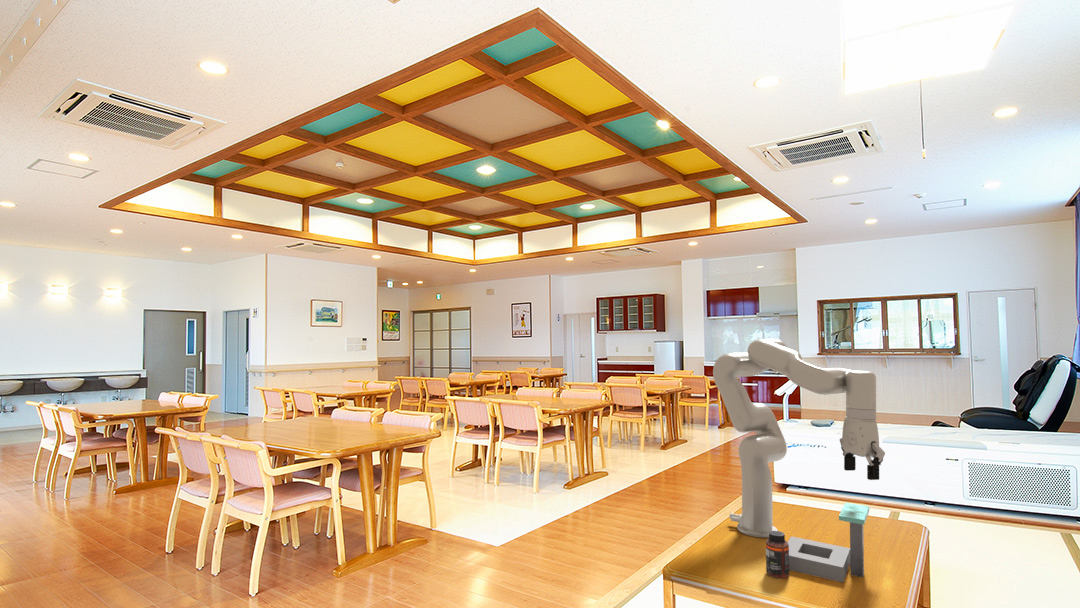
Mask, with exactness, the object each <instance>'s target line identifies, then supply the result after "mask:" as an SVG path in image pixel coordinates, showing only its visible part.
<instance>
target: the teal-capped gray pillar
mask: <svg viewBox="0 0 1080 608" xmlns="http://www.w3.org/2000/svg"><path fill="white" fill-rule="evenodd" d="M869 513H870V506H869V505H863V504H856V503H850V502H845V503H844V505H843V507H842V508H841V511H840V513H839V515H838V521H841V522H845V523H846V522H848V523H849V548H850V565H849V567H850V568H849V569H850V573H849V574H850V576H853V577H857V578H858V577H859V578H864V575H865V559H864V558H865V554H864V553H865V552H864V551H865V549H864V547H865V546H864V541H865V540H864V536H865V535H864V534H865V533H864V525H866V521H867V517H868V516H869Z"/></svg>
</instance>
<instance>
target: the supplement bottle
mask: <svg viewBox="0 0 1080 608" xmlns="http://www.w3.org/2000/svg"><path fill="white" fill-rule="evenodd" d="M785 536H786V535H785V532H782V531H779V530H778V531H770V532H769V537H768V538H766V540H765V566H766V567H765V570H766V574H767V575H768V576H770V577H772V578H775V579H787V578H788V577H790V570H789V545H788V543H787V542H788V541H786V537H785Z"/></svg>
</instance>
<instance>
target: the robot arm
mask: <svg viewBox="0 0 1080 608" xmlns="http://www.w3.org/2000/svg"><path fill="white" fill-rule="evenodd" d="M802 359H803V357H802V355H801V353H800V352H798V351H797V350H794V349H791V348H788V346H787V345H786V343H785V342H783V341H782V340H780V339H778V338H759V339H755V340H754V341H751V343H749V345H748V348H747V351H746V352H728V353H725V354H722V355H720V356H719V357H718V358H717V359H716V361H715V363H714V364H713V369H712V375H713V380H714V381H713V382H714V384H715V386H716V387H717V390H718V392H719V394H720V395H721V398H722V400H723V404H724V406H725V409H726V411H727V413H728V416H729V418H730V421H731V423H732V424H731V425H732V426H733V428H734V429H735V430H736V431H737V432H738V433H744V434H745V433H753V432H754V433H755V434H753V435H749V436H746V437H744V438H742V440H741V441H740V443H739V445H738V455H739V456H738V457H739V462H740V468H741V469H740V470H741V513H739V514H736V513H733V512H730V513H729V514H728V515H729V516H728V517H729V519H730V521H732V522H737V524H736V525H737V526H736V527H737V528H736V529H737V530H738V531H739V532H740V533H741V534H744V535H746V536H750V537H753V538H754V537H755V538H765V539H768V538H770V537H769V532H770V531H779V530H778V529H777V527H776V526H774V525H773V477H772V476H773V475H772V472H771V469H770V467H769V463H773V462H778V461H780V460H782V459H784V458H785V457H786V455H787V451H788V449H787V442H786V440H785V437H784V435H783V432H782V430H781V428H780V426H779V425H780V424H779V422H778V420H777V418H776V416H775V414H774V412H773V410H772V409H771V408H770V407H769V406H767V405H766V404H765V403H762V402H752V401H751V399H750V397H749V393H748V391H747V389H746V388H745V386H744V385H743V384H742V382H740V380H739V379H738V378H742V377H743V378H745V377H747V378H748V377H755V376H758V375H760V374H762V373H764V372H766V371H768V370H772V371H774V372H776V373H778V374H780V375H782V376H785V377H787V379H788V380H790V381H791V382H792V383H793V384H794V385H796V386H798V387H800V388H802V389H805V390H808V391H810V392H812V393H814V394H818V395H824V396H826V395H827V396H828V395H836V394H838V395H839V394H845V416H844V421H843V426H842V433H841V435H842V437H840V438H839V442H840V443H839V444H840V446H841V447H840V448H841V450H842V455H843V469H844V471H845V472H846V471H856V466H857V465H856V464H857V463H856V456H857V457H859V458H860V457H861V458H865V459H866V461H867V465H866V466H867V467H866V469H867V470H866V471H867V474H866V476H867V477H866V478H867V480H868V481H875V480H876V481H878V480H880V466H881V465H882V463H883V461H884V457H885V455H886V452H885V451H884V450H883V449H882V447H881V446H880V436H879V428H878V423H877V422H878V421H877V376H876V374H875V373H874V372H873V371H869V370H853V369H852V370H851V369H847V368H843V367H830V368H829V367H827V368H821V367H817V366H815V365H813V364H810V363H807V362H805V361H803V360H802ZM872 458H873V459H872Z"/></svg>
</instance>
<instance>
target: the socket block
mask: <svg viewBox="0 0 1080 608" xmlns="http://www.w3.org/2000/svg"><path fill="white" fill-rule="evenodd" d="M786 542H787V543H788V545H789V571H792V572H797V573H801V574H805V575H809V576H814V577H817V578H822V579H826V580H830V581H835V582H838V583H844V582H845V579H846V576H847V573H848V570H849V569H850V568H849V567H850V547H846V546H840V545H836V544H830V543H826V542H821V541H815V540H812V539H806V538H802V537H797V536H790V538H789V539H788V541H786Z"/></svg>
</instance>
